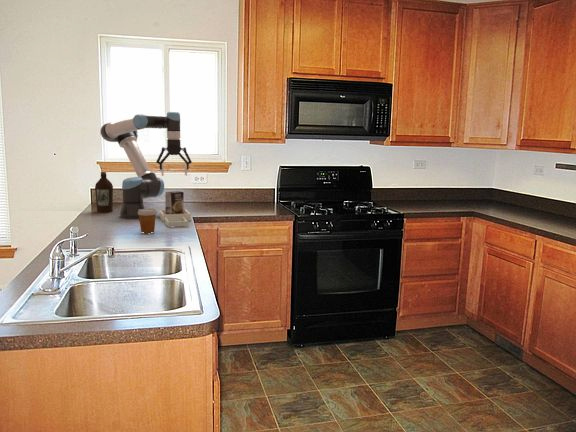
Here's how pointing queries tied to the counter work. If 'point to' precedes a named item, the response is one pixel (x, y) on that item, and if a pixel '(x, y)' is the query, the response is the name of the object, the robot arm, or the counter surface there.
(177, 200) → the coffee box
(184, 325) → the counter surface
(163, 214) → the plastic food container
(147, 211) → the glass of beer
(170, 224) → the tray
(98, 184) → the olive oil
